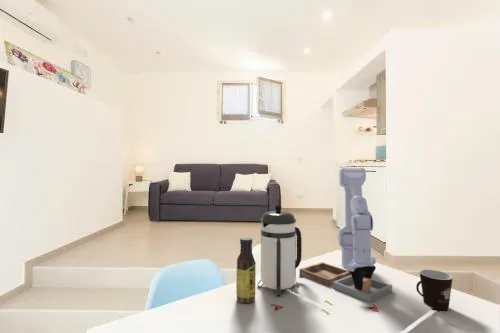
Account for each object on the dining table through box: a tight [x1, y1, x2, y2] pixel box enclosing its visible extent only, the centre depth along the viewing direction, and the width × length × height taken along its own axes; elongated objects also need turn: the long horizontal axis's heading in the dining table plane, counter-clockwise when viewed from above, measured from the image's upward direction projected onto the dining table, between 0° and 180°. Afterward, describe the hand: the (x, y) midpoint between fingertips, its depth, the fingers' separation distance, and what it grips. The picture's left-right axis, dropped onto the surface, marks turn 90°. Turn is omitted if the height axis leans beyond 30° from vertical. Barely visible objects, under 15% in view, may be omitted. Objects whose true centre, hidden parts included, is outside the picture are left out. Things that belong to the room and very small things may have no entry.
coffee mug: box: [416, 269, 453, 312], centre depth 88 cm, size 12×9×10 cm
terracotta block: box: [354, 277, 371, 293], centre depth 98 cm, size 4×4×4 cm
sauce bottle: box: [235, 237, 256, 304], centre depth 92 cm, size 7×6×20 cm
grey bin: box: [332, 275, 393, 304], centre depth 98 cm, size 14×14×3 cm
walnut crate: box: [299, 261, 351, 287], centre depth 110 cm, size 14×14×3 cm
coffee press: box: [257, 204, 303, 297], centre depth 102 cm, size 17×16×30 cm
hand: (362, 287), depth 98 cm, fingers closed on terracotta block, 4 cm apart
